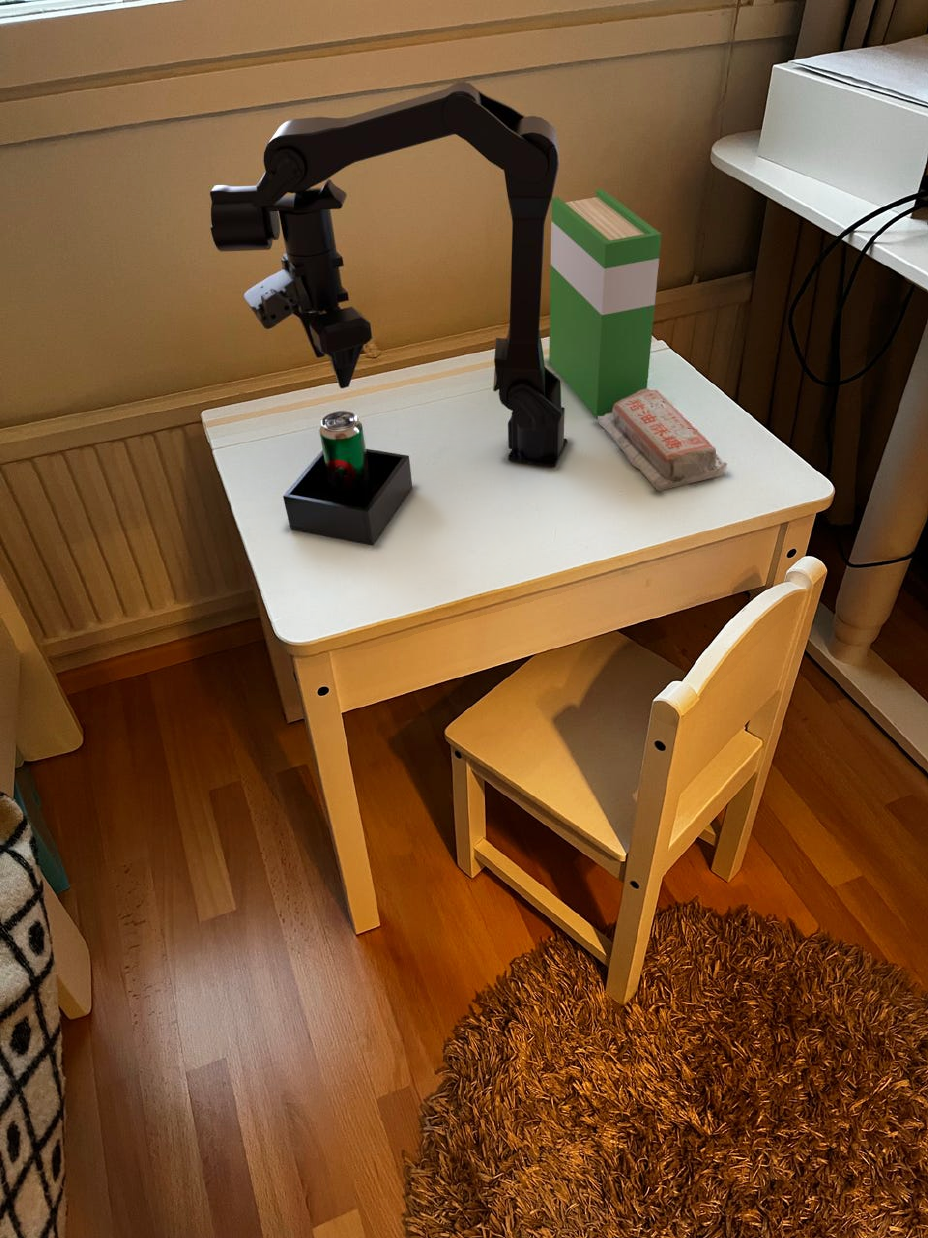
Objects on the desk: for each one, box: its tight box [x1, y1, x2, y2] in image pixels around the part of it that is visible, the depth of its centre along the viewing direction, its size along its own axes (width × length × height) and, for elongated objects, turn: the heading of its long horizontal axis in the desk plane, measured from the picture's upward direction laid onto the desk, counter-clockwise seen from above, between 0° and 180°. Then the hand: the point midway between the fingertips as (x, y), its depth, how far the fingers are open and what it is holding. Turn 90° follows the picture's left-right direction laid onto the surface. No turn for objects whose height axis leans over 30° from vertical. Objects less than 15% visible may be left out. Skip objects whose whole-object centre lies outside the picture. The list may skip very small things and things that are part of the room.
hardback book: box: [548, 189, 663, 419], centre depth 125 cm, size 18×7×24 cm, turn 18°
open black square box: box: [282, 448, 413, 547], centre depth 113 cm, size 11×12×5 cm
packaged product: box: [597, 388, 728, 491], centre depth 119 cm, size 18×5×10 cm
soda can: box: [318, 410, 373, 509], centre depth 110 cm, size 5×5×12 cm
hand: (332, 371), depth 115 cm, fingers open, 9 cm apart
